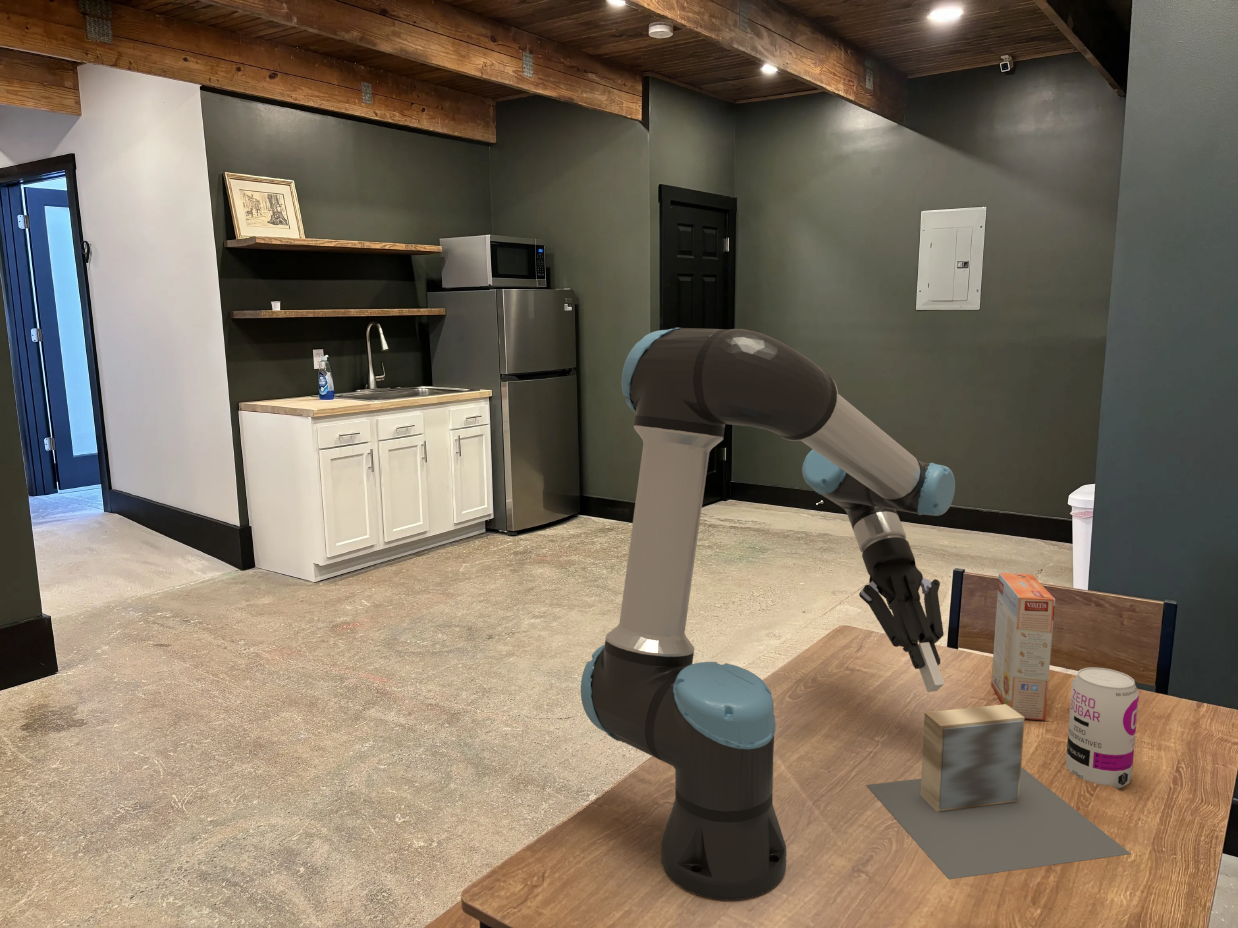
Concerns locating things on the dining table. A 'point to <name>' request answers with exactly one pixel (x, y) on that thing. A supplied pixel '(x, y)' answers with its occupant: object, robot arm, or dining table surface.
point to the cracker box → (1022, 644)
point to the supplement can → (1102, 726)
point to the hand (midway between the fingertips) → (935, 687)
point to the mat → (997, 830)
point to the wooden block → (971, 757)
